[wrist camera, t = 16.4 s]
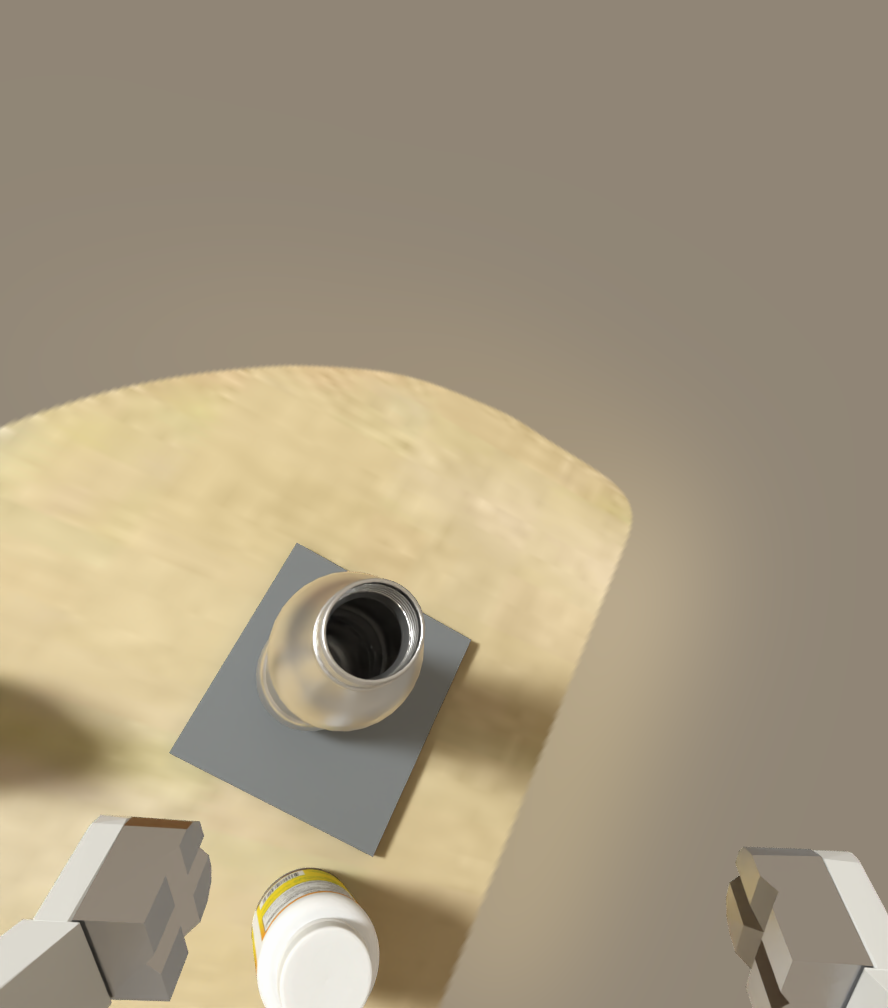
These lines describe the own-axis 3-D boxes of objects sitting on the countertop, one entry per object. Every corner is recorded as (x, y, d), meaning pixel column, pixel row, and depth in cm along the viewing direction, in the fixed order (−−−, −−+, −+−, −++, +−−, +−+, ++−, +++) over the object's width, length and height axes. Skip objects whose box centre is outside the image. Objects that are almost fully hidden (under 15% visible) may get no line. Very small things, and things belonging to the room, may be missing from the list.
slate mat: (370, 854, 40) (372, 856, 39) (170, 752, 39) (169, 753, 38) (467, 641, 46) (471, 639, 45) (295, 545, 44) (296, 542, 44)
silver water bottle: (385, 669, 43) (502, 622, 25) (308, 756, 40) (376, 776, 22) (311, 597, 43) (373, 499, 25) (229, 679, 40) (231, 636, 22)
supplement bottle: (332, 990, 38) (367, 1074, 28) (234, 964, 37) (237, 1043, 27) (365, 879, 40) (407, 924, 30) (273, 852, 39) (288, 890, 29)
